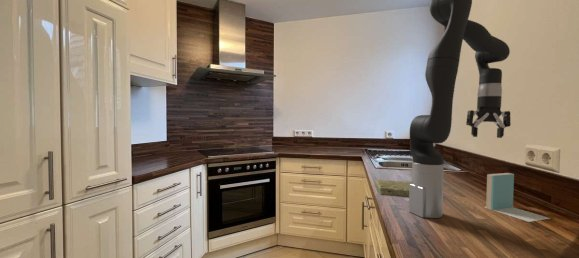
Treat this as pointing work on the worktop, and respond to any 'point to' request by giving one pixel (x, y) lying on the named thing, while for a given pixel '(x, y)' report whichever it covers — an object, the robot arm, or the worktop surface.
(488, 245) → the worktop surface
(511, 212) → the mat
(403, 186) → the decorative tile
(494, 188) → the tile
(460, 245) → the worktop surface
